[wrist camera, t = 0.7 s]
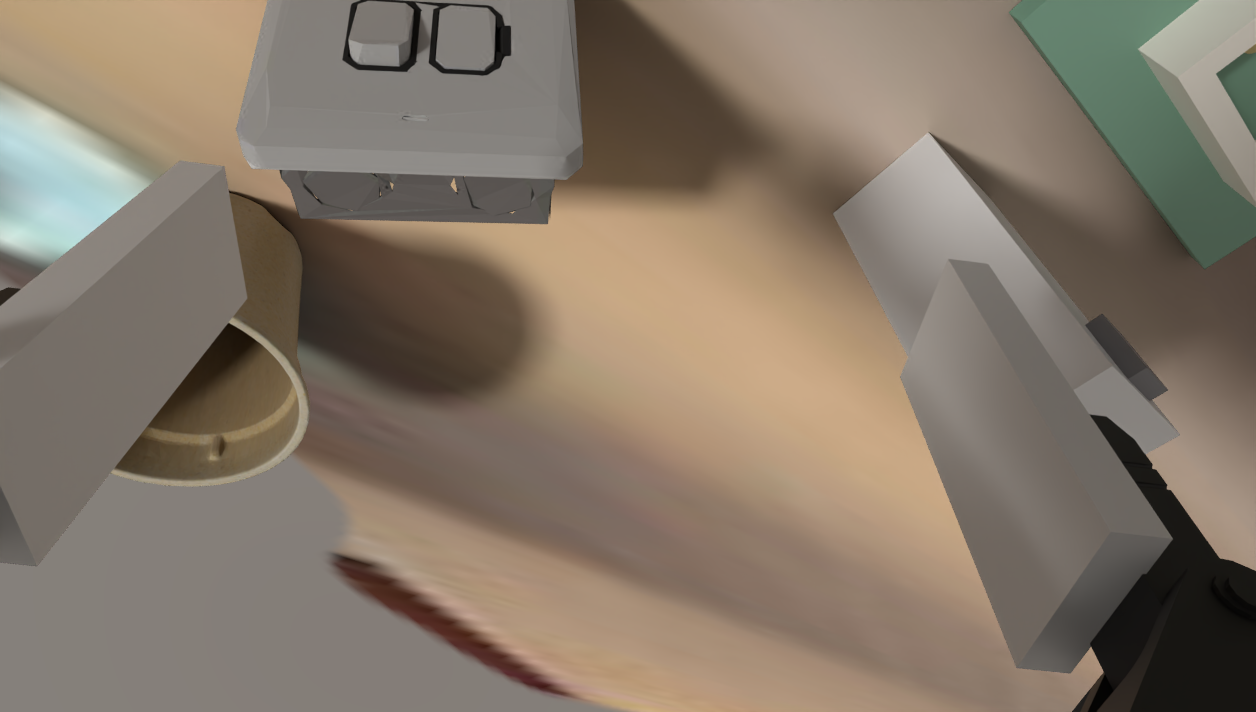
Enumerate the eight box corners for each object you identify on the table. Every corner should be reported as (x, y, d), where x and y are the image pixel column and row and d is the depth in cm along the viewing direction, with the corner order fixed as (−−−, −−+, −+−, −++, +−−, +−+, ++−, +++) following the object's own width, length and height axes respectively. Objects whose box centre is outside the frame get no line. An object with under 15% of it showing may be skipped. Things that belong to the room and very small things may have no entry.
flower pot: (288, 126, 30) (229, 263, 24) (377, 316, 37) (349, 463, 30) (44, 172, 31) (-78, 319, 24) (175, 352, 37) (106, 506, 31)
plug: (832, 213, 36) (961, 459, 25) (940, 121, 33) (1132, 353, 23) (897, 270, 38) (1038, 514, 28) (1001, 189, 36) (1199, 424, 25)
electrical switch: (574, -48, 27) (590, 101, 21) (566, 92, 31) (578, 252, 25) (281, -69, 26) (209, 83, 20) (311, 80, 30) (257, 245, 24)
